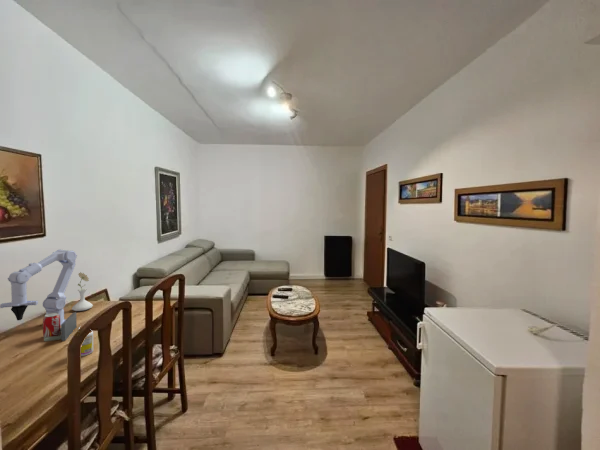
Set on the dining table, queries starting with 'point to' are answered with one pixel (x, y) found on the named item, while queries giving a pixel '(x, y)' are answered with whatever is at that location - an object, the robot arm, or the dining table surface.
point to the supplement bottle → (87, 344)
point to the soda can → (51, 325)
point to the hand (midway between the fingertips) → (19, 319)
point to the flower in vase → (82, 296)
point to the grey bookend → (65, 329)
